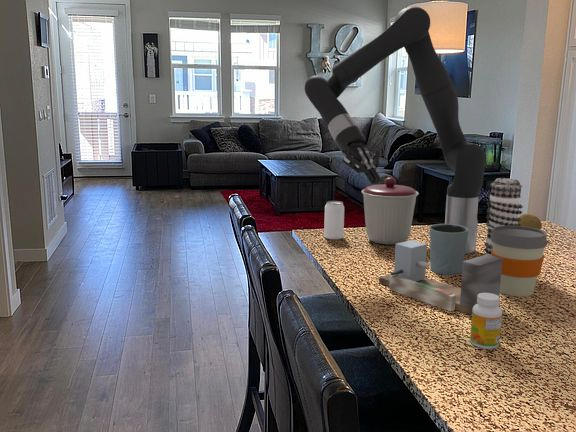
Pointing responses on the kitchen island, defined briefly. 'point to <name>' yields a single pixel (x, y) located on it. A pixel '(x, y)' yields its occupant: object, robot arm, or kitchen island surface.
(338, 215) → the can
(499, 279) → the track
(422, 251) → the block
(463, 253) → the teal gray cup
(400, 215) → the canister
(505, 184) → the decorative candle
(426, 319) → the kitchen island surface
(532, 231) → the reusable coffee cup
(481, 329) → the supplement bottle
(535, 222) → the potato
